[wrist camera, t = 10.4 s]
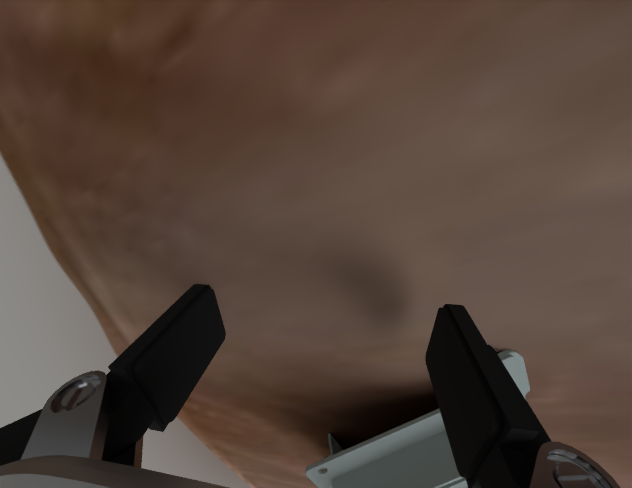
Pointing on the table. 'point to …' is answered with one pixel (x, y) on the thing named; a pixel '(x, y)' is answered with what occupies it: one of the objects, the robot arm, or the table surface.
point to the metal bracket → (403, 452)
